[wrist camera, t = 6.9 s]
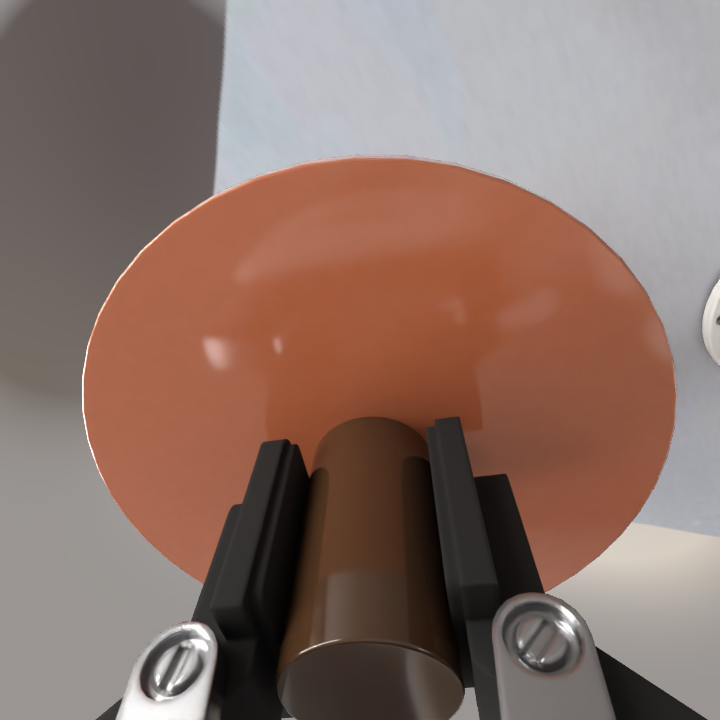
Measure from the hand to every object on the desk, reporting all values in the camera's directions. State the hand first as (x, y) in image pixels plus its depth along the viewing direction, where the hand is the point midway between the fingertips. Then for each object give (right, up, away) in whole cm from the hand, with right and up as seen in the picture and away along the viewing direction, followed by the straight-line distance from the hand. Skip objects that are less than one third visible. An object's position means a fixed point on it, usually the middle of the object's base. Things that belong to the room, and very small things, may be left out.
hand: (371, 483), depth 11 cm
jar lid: (0, +1, +1) cm, 1 cm away
